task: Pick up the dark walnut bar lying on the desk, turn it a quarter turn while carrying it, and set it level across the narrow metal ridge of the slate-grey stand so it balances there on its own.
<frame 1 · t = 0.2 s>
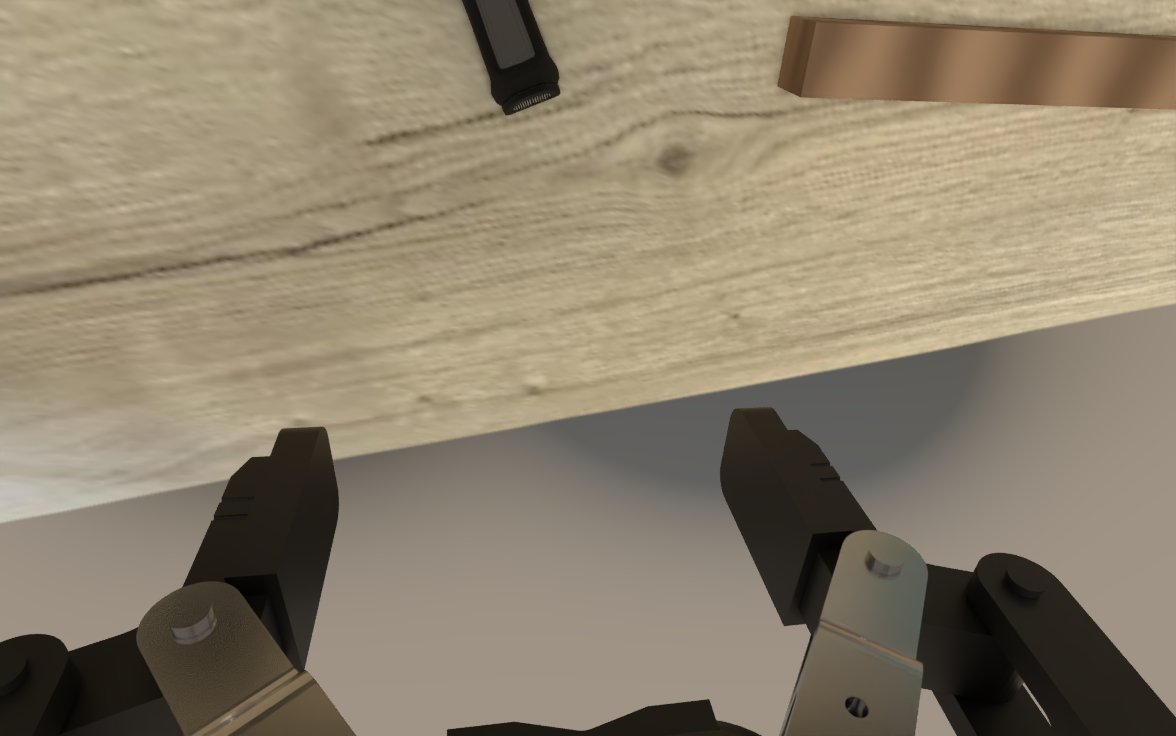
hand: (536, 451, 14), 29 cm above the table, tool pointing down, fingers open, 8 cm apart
walnut bar: (987, 60, 40), on the table
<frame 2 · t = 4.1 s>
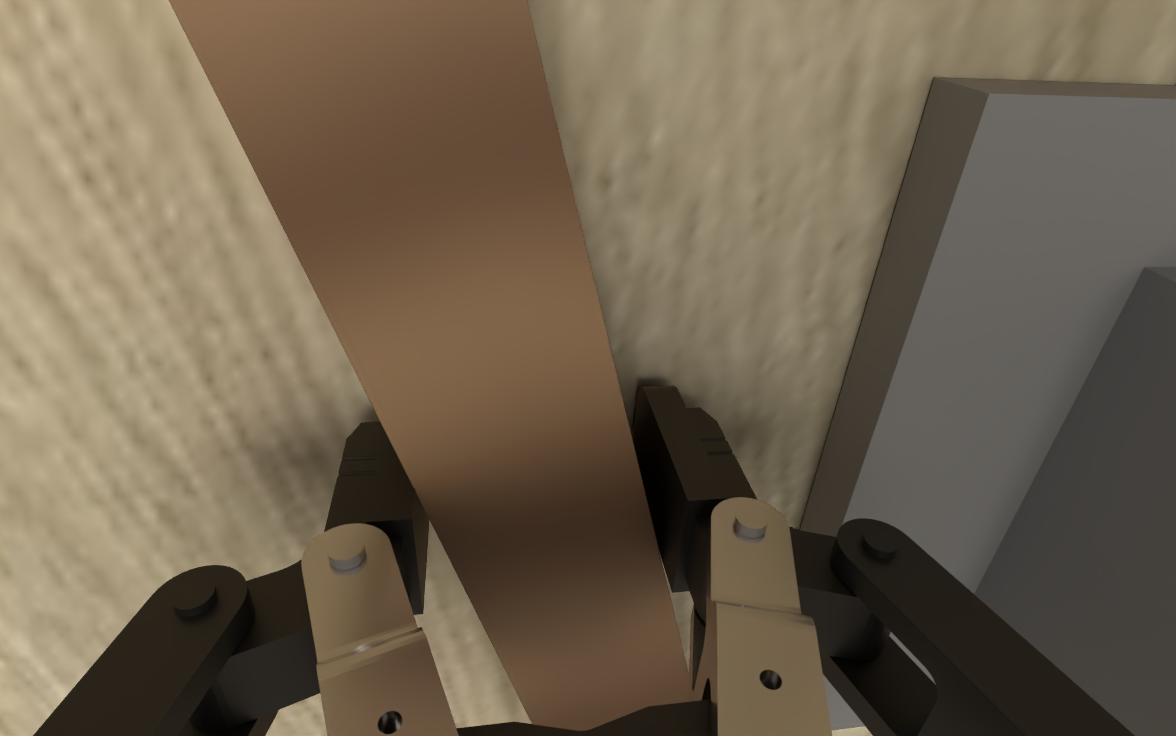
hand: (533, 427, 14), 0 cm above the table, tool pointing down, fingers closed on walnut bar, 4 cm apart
walnut bar: (530, 408, 15), on the table, touching gripper
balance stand: (1067, 455, 18), on the table
when the fingers open (13 cm above the table, at t = 8.4 s): walnut bar drops 4 cm, resting on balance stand.
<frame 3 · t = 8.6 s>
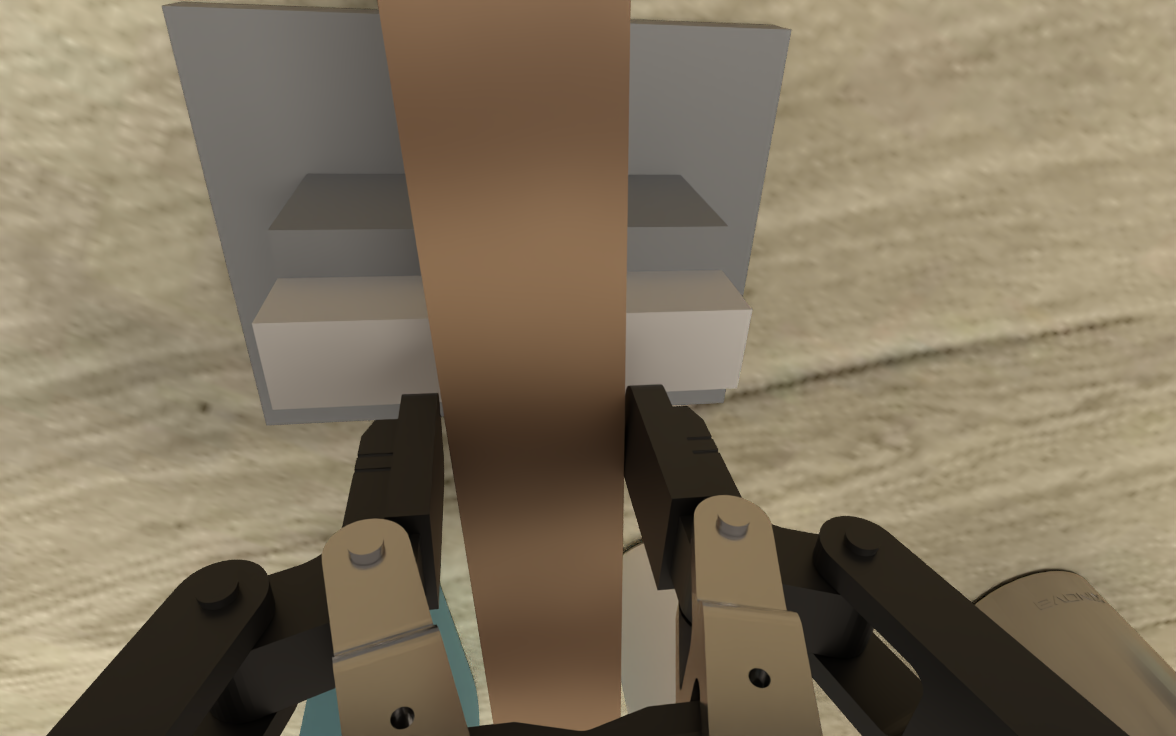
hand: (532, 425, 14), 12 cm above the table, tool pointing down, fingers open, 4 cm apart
walnut bar: (525, 353, 17), point 9 cm above the table, touching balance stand, gripper
data package: (413, 632, 36), on the table
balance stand: (501, 231, 25), on the table
can: (660, 572, 36), on the table
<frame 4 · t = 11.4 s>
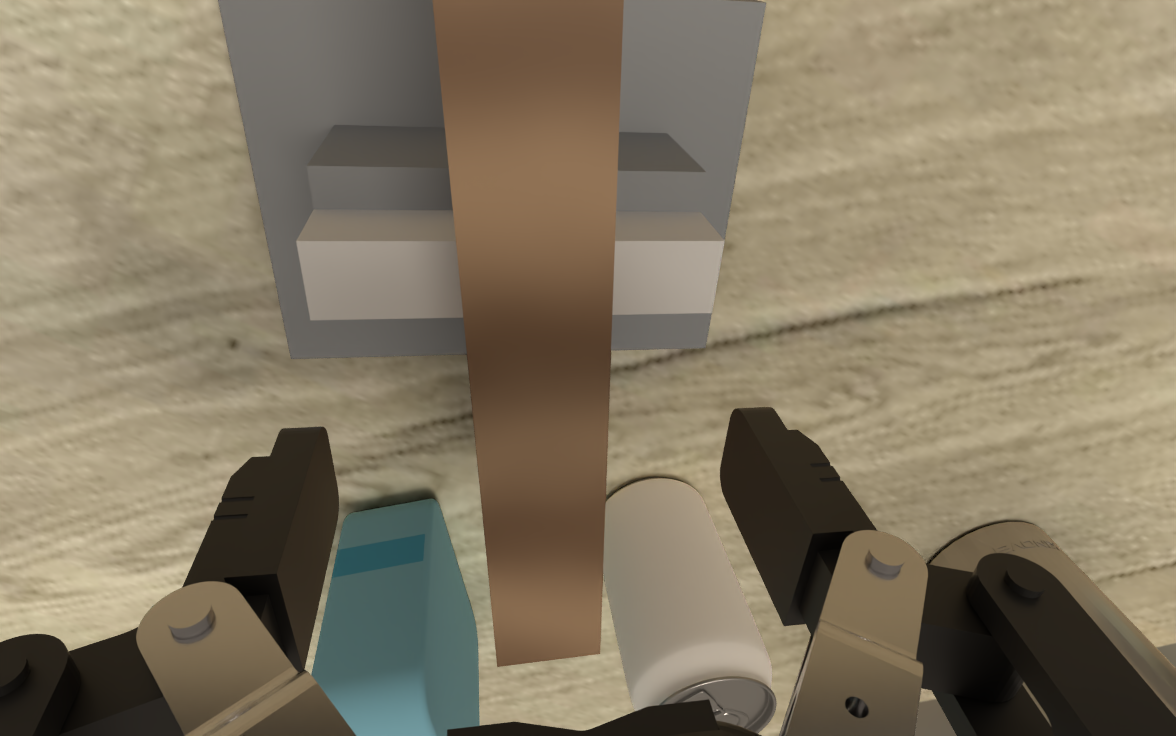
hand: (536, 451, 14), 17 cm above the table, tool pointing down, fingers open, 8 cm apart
walnut bar: (528, 276, 20), point 9 cm above the table, touching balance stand
data package: (418, 566, 38), on the table
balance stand: (505, 184, 27), on the table
can: (648, 513, 39), on the table
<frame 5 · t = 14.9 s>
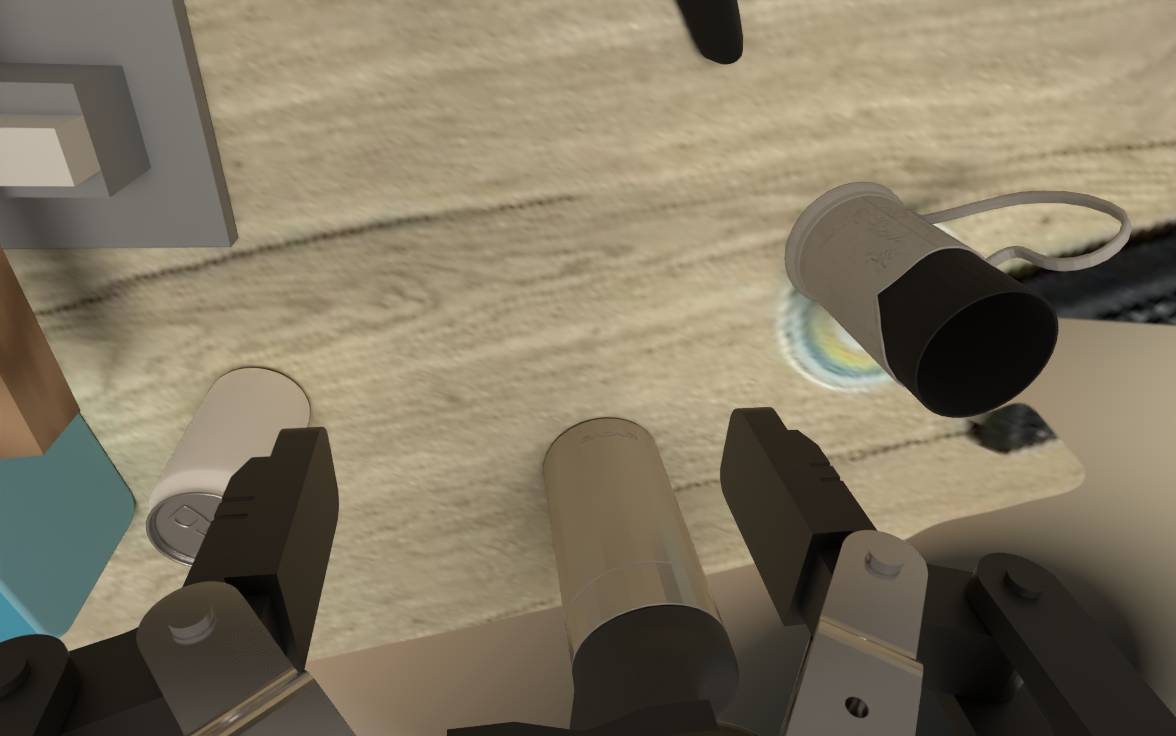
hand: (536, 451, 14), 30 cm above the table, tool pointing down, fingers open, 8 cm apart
data package: (68, 447, 46), on the table
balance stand: (22, 109, 35), on the table
grey black mug: (879, 218, 46), on the table
can: (262, 402, 46), on the table
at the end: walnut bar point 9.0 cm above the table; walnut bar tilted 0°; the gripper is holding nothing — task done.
